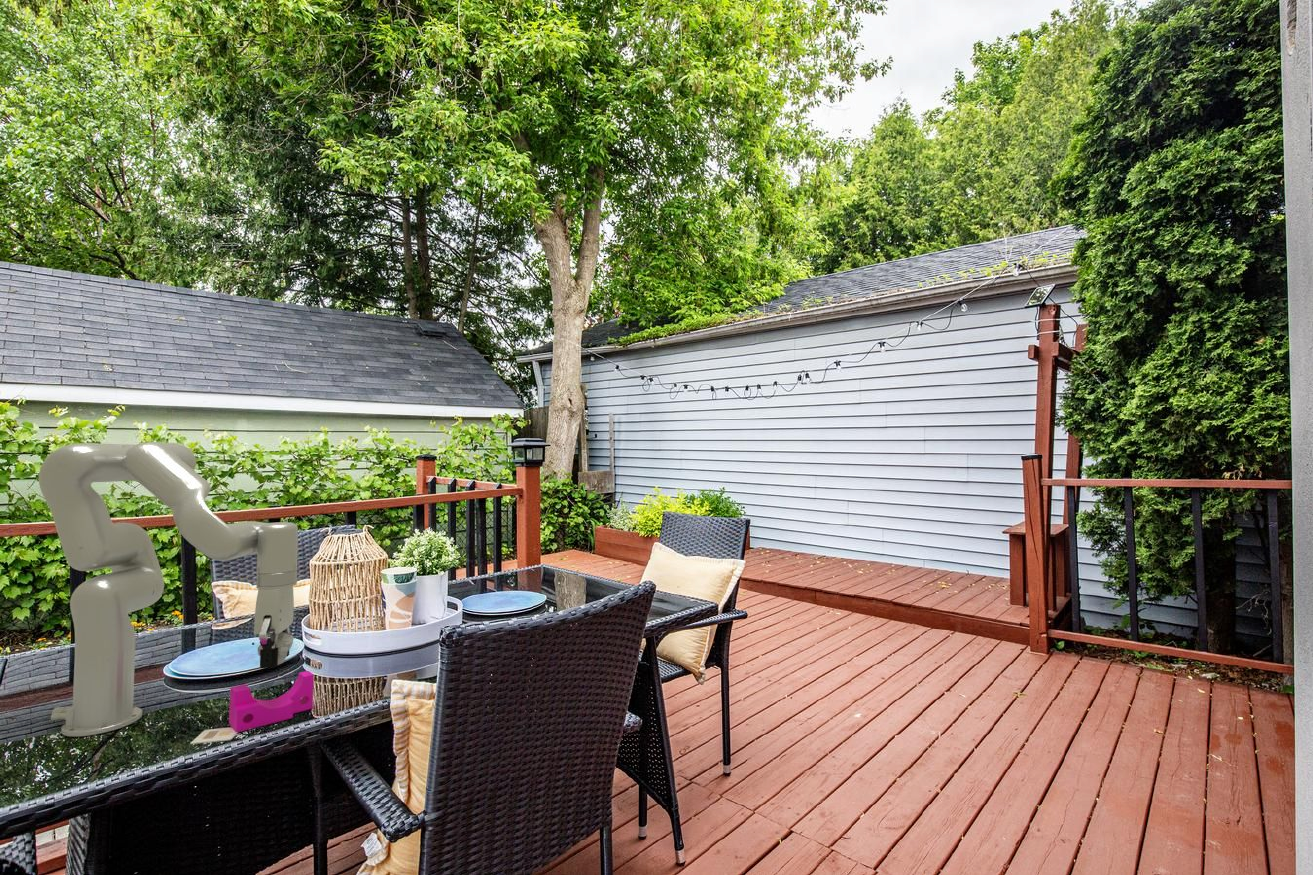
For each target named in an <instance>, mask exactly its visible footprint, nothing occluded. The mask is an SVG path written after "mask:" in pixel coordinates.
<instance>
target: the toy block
mask: <svg viewBox="0 0 1313 875" xmlns="http://www.w3.org/2000/svg"><path fill="white" fill-rule="evenodd" d="M314 678H315V674H314V673H313V672H311V671H310V670H305V671H301V672H298V674H297V678H296V680H295V682H294V683H293V685H292V686H291V687H290V689H288V691H286V692H284V693H283V694H282V695H280V696H279V697H276V698H273V699H272V698H271V699H268V700H262V699H257V698H256V697H253V695H252V693H251V689H250V687H249V686H248V685H247V684H242V685H241V684H240V685H237V686H231V687H230V690H229V691H230V692H229V710H228V711H229V712H228V714H229V715H228V724H229V726H230V727H232V728H233V730H234V731H235V732H236V733H237V732H238V733H241V732H245V731H248V730H251V729H255V728H256V729H257V728H259V727H263V726H268V725H271V724H274V723H278V722H283V721H285V720H289V719H293V718H294V714H296V713H301V712H304V711H308V710H312V709H313V708H314V707H313V706H314ZM238 733H237V734H238Z"/></svg>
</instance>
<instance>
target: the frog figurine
mask: <svg viewBox="0 0 1313 875" xmlns="http://www.w3.org/2000/svg"><path fill="white" fill-rule="evenodd" d="M269 638H271V640H272V641H273V637H269ZM294 639H295V638H294V636H293V635H292V634H291V633H290V634H287V633H285V632H281V633H280V634H278V639H277V645H276V648H277V647H278V665H277V666H279V665H281V664H282V663H284V661H285V660H286V658H287V657H288V656H287V652H288V650H289V651H290V649H291V647H292V646H293V643H294ZM257 654H258V656H259V657H260V645H258V647H257ZM286 656H287V657H286Z"/></svg>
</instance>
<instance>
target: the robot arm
mask: <svg viewBox="0 0 1313 875" xmlns="http://www.w3.org/2000/svg"><path fill="white" fill-rule="evenodd" d="M196 465H197V459H196V456H195V454H194V452H193V451H192V450H191V449H190V448H189V447H187V446H186V445H184V444H182V443H178V442H164V441H163V442H162V441H161V442H160V441H147V442H141V443H138V444H122V443H119V444H118V443H97V442H80V443H79V442H78V443H73V444H66V445H64V446H63V445H62V446H61V447H59V448H56V449H54V451H52V452H51V453H49V454H48V456H46V458H45V459H44V461H43V462H42V463H41V466H40V468H39V472H38V483H39V488H40V491H41V493H42V496H43V498H44V501H45V502H46V504H47V506H48V508H49V510H50V513H51V516H52V518H53V523H54V527H55V529H56V533H57V535H58V538H59V541H60V544H61V548H62V550H63V554H64V557H65V560H66V562H67V563H68V565H69V566H70V567H71V568H72V569H74V570H77V571H79V572H90V571H96V570H102V569H107V568H110V570H111V572H110V573H109V572H108V573H105V574H101V575H97V576H94V577H91V578H89V579H87V580H85V581H83V582H82V583H81V584H79V585H78V586H77V587H76V588H75V589H74V591H73V592H72V594H71V597H70V599H69V600H70V602H69V606H70V607H69V608H70V613H71V618H72V622H73V628H74V669H73V672H74V673H73V692H72V693H73V694H72V705H71V706H60V707H59V706H58V707H57V706H56V707H54V708H53V709H52V711H51V716H50V720H51V721H59V720H64V721H65V723H64V724H62V725H61V728H60V729H61V731H60V732H61V734H62V735H64V736H66V737H72V738H73V737H75V738H76V737H78V738H79V737H86V736H88V737H89V736H96V735H99V734H105V733H109V732H112V731H115V730H118V729H122V728H125V727H127V726H129V725H132V724H133V723H135V722H137V721H138V720H140V719H141V718H142V716H143V709H142V708H140V707H137V706H134V694H135V692H134V690H135V665H136V664H135V663H136V662H135V661H136V660H135V659H136V632H135V627H134V625H133V623H132V621H131V619H130V616H129V614H130V613H133V612H136V611H140V610H142V609H145V608H148V607H150V606H152V605H154V604H155V603H156V602H158V601H159V600H160V598H161V597H162V595H163V593H164V589H165V580H164V575H163V571H162V569H161V566H160V563H159V562H160V561H159V560H158V556H157V553H156V550H155V547H154V543H153V542H152V538H151V537H150V535H149V534H148V532H147V531H146V530H145V529H144V528H143V527H142V526H140V525H138V524H136V523H133V522H125V521H124V522H115V523H113V521H112V519H111V516H110V513H109V511H108V506H107V504H106V502H105V500H104V499H103V497H102V496H101V495H100V494H99V493H98V492H97V491H96V490H95V489H94V488H93V487H92V484H93V483H107V482H110V483H111V482H115V483H116V482H135V481H136V482H138V484H140V485H141V486H142V487H144V488H145V489H146V490H147V491H149V493H150V494H152V495H153V496H154V497H156V498H157V499H158V501H160V502H161V503H162V504H163V505H165V506H166V507H167V508H169V509H170V510H171V513H172V517H173V521H174V524H175V526H176V528H177V530H178V532H179V534H180V536H182V537H183V538H184V539H185V540H186V541H187V542H188V543H189V544H190V545H191V546H193V547H194V548H195V549H197V551H199V552H200V553H201V554H203V555H204V556H206V557H207V558H209V559H211V560H215V561H220V562H227V561H231V560H236V559H238V558H243V557H247V556H251V555H256V586H255V588H256V590H257V589H258V591H257V594H256V595H257V596H256V602H255V609H254V610H255V611H254V623H253V635H254V636H255V637H258V640H259V644H260V645H259V646H260V656H259V668H260V669H271V668H276V667H278V666H279V665H278V647H277V648H276V645H277V639H278V634H280V633H281V632H285V633H287V634H290V635H291V631H290V628H291V625H292V624H293V622H294V608H295V606H294V604H295V603H294V600H295V599H294V587H295V586H297V584H298V552H299V550H298V547H299V546H298V545H299V544H298V543H299V530H298V529H299V528H298V526H297V524H296V523H294V522H287V521H286V522H285V521H284V522H283V521H279V522H264V521H263V522H262V521H254V520H253V521H252V520H248V521H241V522H233V523H226V522H225V521H224V520H222V519H221V518H220V517H219V516H217V514H215V513H214V512H213V511H212V510H211V509H210V508H209V506H208V505H207V503H206V498H207V497H208V495H209V494H210V491H211V484H210V482H208V481H207V479H205V478H204V477H202V475H201V474H199V473H198V472H196V471H195V469H196V467H197V466H196ZM271 632H272V633H271ZM270 637H273V641H272V640H271V638H270ZM288 656H290V649H289V650H288V652H287V656H286V658H287V657H288Z"/></svg>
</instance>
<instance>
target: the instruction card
mask: <svg viewBox="0 0 1313 875" xmlns="http://www.w3.org/2000/svg"><path fill="white" fill-rule="evenodd" d="M237 734H239V732H237V733H236V732H235V731H234V730H233V728H232V727H231V726H230V727H222V728H221V727H220V728H214V729H213V728H211V729H210V728H209V729H204V730H203V731H202V732H201V733H200V734H199V735H198V736H196V738H194V739H192V741H191V742H190V743H189V745H195V744H203V743H204V744H205V743H215V742H216V743H217V742H224V741H226V742H227V741H231V740H232V739H233V738H234V737H235V736H237Z"/></svg>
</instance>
